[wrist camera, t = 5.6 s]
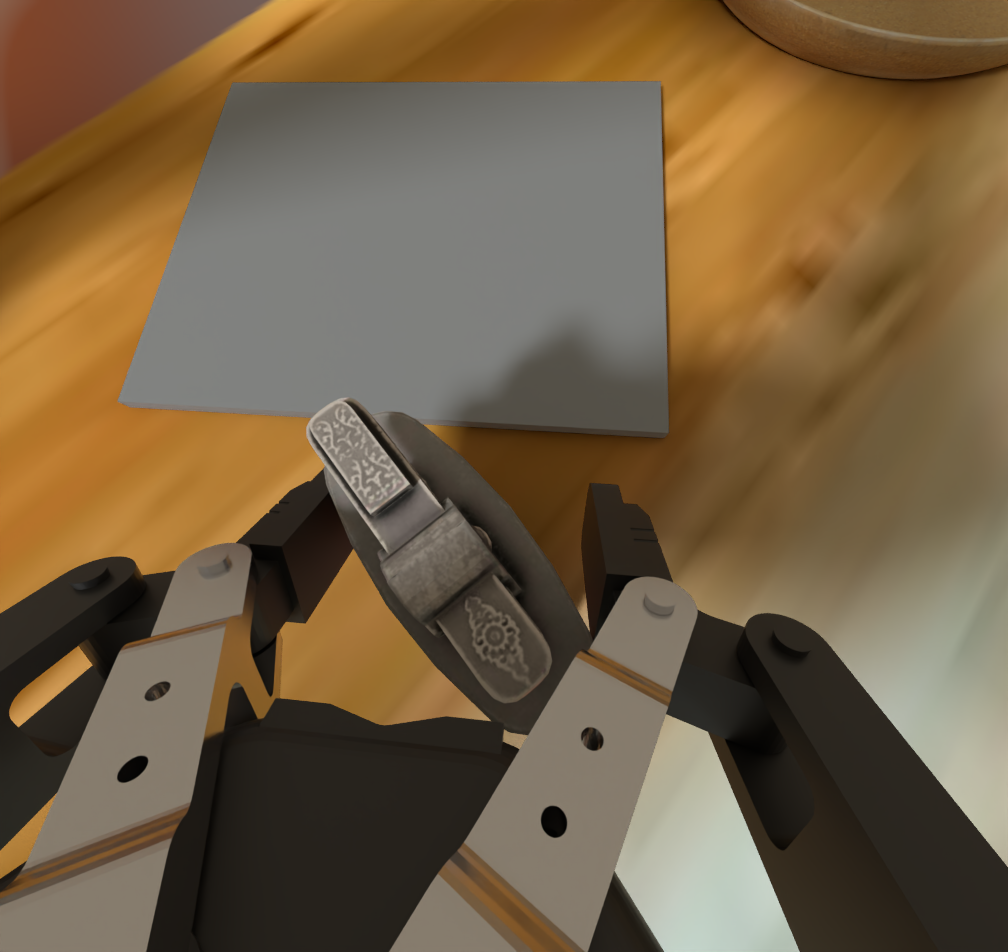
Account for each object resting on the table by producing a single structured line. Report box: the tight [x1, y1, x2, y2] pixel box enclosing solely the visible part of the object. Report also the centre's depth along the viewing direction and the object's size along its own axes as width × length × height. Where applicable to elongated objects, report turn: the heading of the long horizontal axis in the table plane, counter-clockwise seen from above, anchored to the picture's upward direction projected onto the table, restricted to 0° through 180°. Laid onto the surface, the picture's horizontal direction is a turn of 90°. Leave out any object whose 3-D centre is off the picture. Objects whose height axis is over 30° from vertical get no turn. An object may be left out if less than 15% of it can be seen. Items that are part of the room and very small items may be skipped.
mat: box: [118, 81, 669, 438], centre depth 21 cm, size 24×20×1 cm
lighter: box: [306, 397, 593, 735], centre depth 11 cm, size 8×3×10 cm, turn 39°
